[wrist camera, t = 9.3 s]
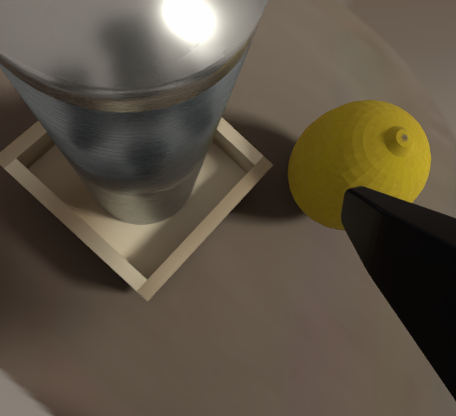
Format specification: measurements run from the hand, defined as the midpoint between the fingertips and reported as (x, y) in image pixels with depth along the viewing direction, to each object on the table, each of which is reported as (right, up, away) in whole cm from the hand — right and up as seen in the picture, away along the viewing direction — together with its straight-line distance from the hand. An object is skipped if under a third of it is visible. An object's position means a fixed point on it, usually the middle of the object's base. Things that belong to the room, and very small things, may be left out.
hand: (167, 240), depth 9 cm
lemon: (+6, +2, +13) cm, 15 cm away
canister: (-3, +2, +9) cm, 10 cm away
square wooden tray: (-3, +2, +11) cm, 12 cm away
